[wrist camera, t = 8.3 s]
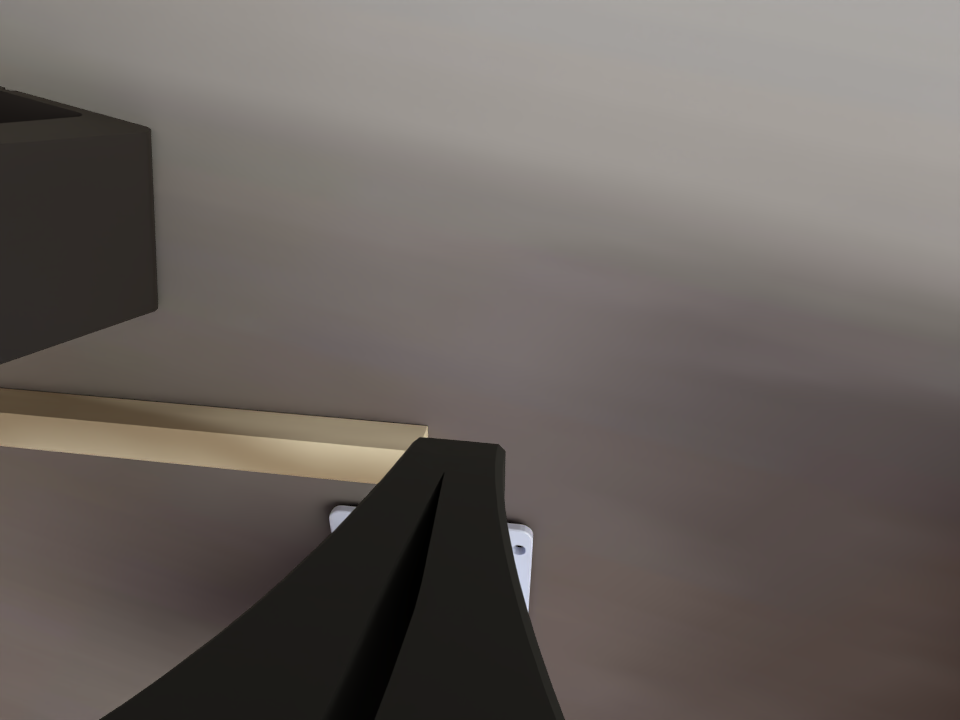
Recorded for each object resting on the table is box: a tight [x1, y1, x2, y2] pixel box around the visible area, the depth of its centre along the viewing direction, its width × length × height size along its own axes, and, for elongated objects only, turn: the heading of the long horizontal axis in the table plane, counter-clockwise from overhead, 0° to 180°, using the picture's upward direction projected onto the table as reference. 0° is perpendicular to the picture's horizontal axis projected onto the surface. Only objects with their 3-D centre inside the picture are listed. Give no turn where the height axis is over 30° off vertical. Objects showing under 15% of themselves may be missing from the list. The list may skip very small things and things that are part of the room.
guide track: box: [0, 388, 428, 484], centre depth 18 cm, size 19×22×4 cm
